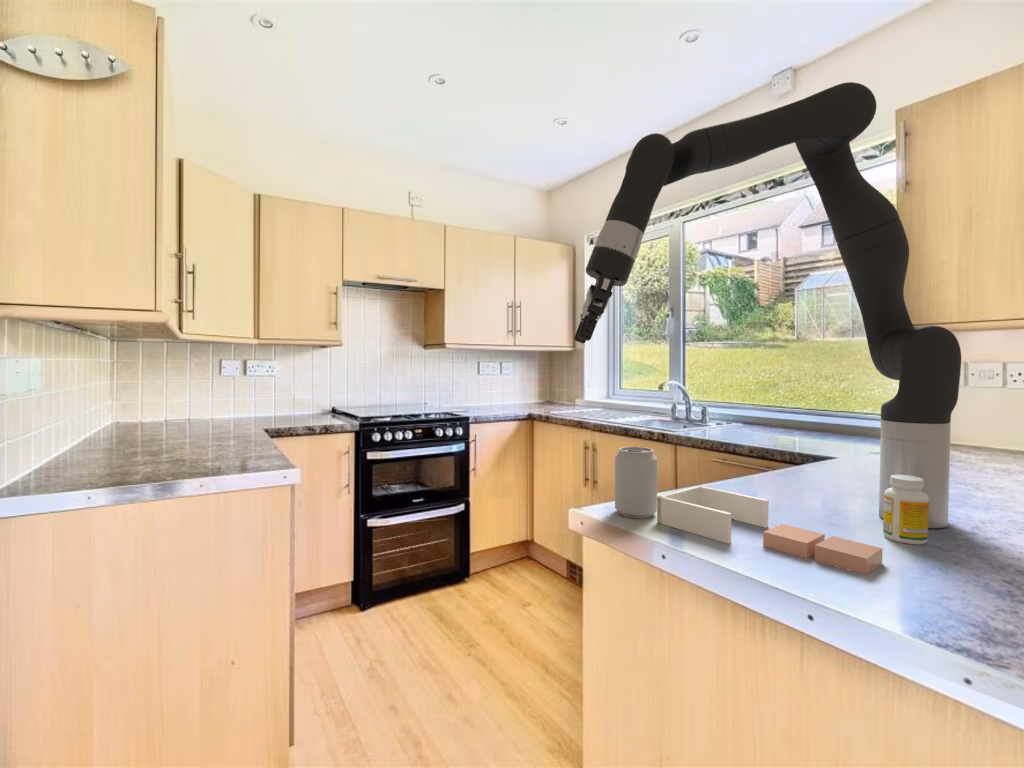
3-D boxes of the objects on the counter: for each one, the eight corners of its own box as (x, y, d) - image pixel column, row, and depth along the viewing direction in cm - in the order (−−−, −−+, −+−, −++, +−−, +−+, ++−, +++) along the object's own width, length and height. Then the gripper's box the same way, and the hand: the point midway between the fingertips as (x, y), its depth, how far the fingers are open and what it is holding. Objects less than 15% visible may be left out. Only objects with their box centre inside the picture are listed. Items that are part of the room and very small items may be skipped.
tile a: (781, 539, 76) (781, 523, 76) (824, 551, 71) (824, 534, 71) (763, 548, 72) (763, 531, 72) (806, 560, 68) (807, 543, 68)
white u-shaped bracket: (698, 509, 91) (698, 485, 91) (768, 526, 81) (768, 500, 81) (657, 522, 84) (657, 496, 83) (728, 543, 73) (728, 514, 73)
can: (652, 508, 92) (653, 445, 92) (660, 520, 85) (661, 452, 84) (612, 507, 93) (612, 444, 93) (617, 519, 85) (617, 451, 85)
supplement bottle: (875, 536, 76) (876, 475, 76) (894, 531, 79) (895, 472, 78) (916, 547, 71) (917, 482, 71) (935, 541, 74) (936, 479, 73)
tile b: (832, 552, 71) (832, 536, 70) (882, 566, 66) (882, 548, 66) (814, 563, 67) (815, 545, 67) (866, 578, 62) (866, 558, 62)
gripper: (643, 251, 78) (606, 346, 78) (627, 269, 92) (596, 349, 93) (599, 235, 78) (563, 330, 79) (590, 255, 92) (559, 335, 93)
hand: (581, 340), depth 86 cm, fingers open, 8 cm apart
